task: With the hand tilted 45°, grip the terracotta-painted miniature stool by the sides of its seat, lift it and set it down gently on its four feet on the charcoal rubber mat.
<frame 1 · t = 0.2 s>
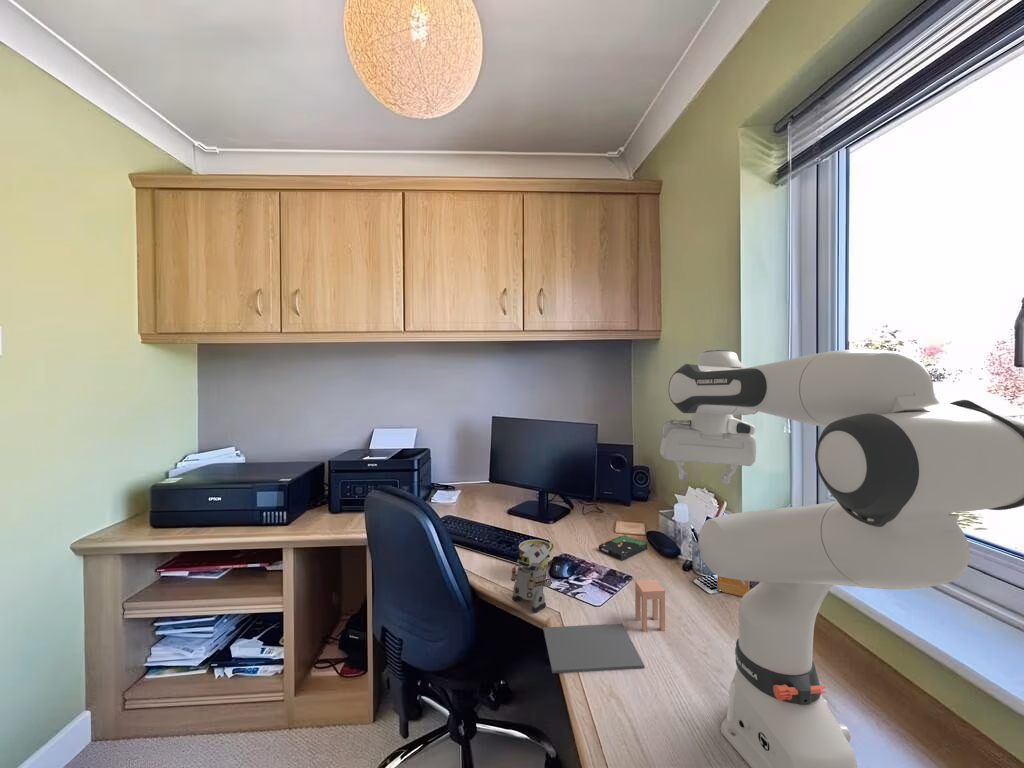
hand: (703, 480, 97), 38 cm above the table, tool pointing down, fingers open, 8 cm apart
ceramic cup: (538, 576, 132), on the table
miniature stool: (649, 624, 106), on the table
figurine: (533, 602, 118), on the table
disk drive: (623, 551, 150), on the table
charcoal mat: (590, 647, 98), on the table
small box: (733, 590, 122), on the table
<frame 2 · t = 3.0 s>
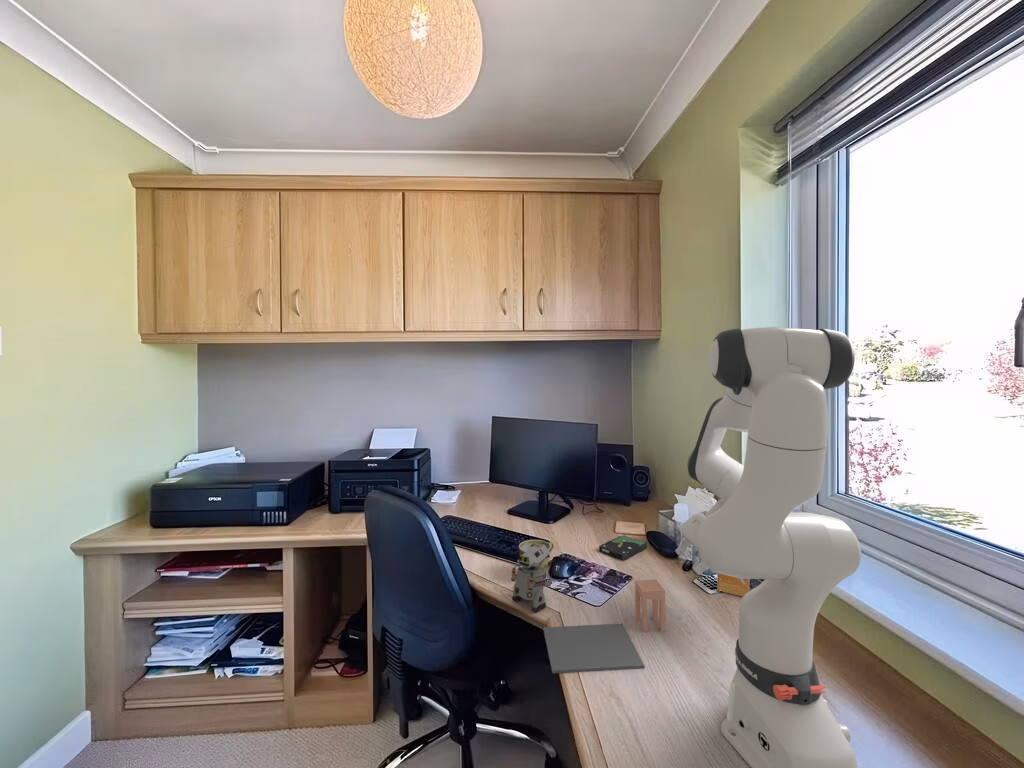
hand: (686, 562, 106), 15 cm above the table, tool tilted 45°, fingers open, 8 cm apart
nothing on the table moved.
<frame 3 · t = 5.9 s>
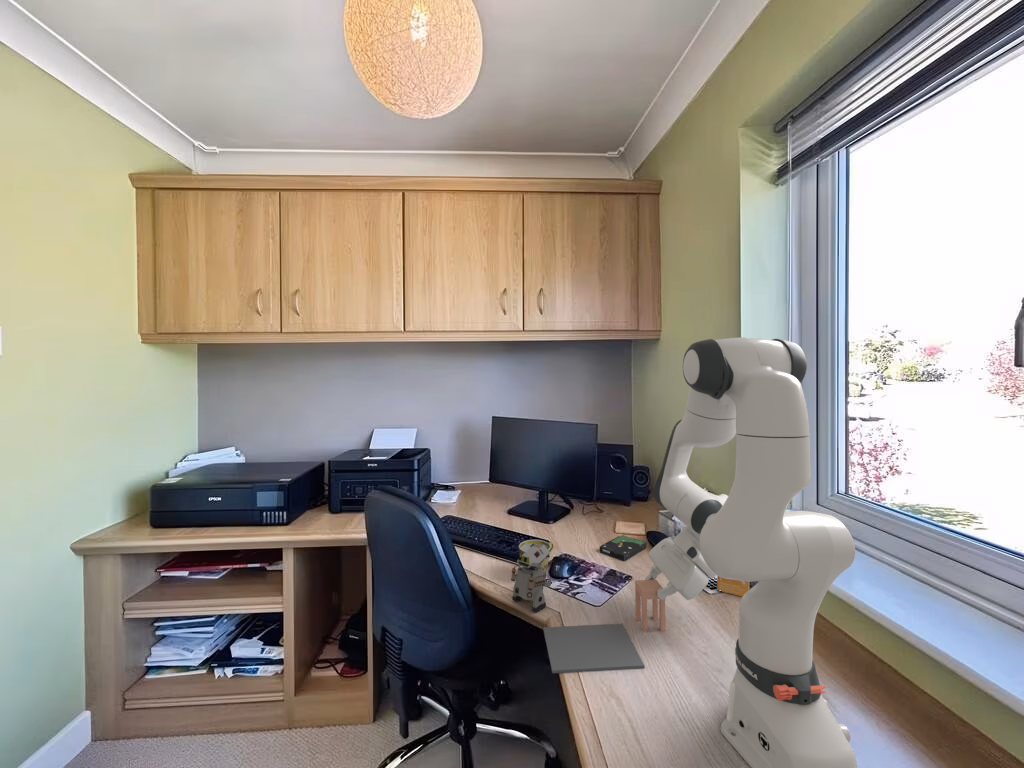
hand: (653, 589, 106), 9 cm above the table, tool tilted 45°, fingers closed on miniature stool, 5 cm apart
miniature stool: (649, 624, 106), on the table, touching gripper
everything else where it was.
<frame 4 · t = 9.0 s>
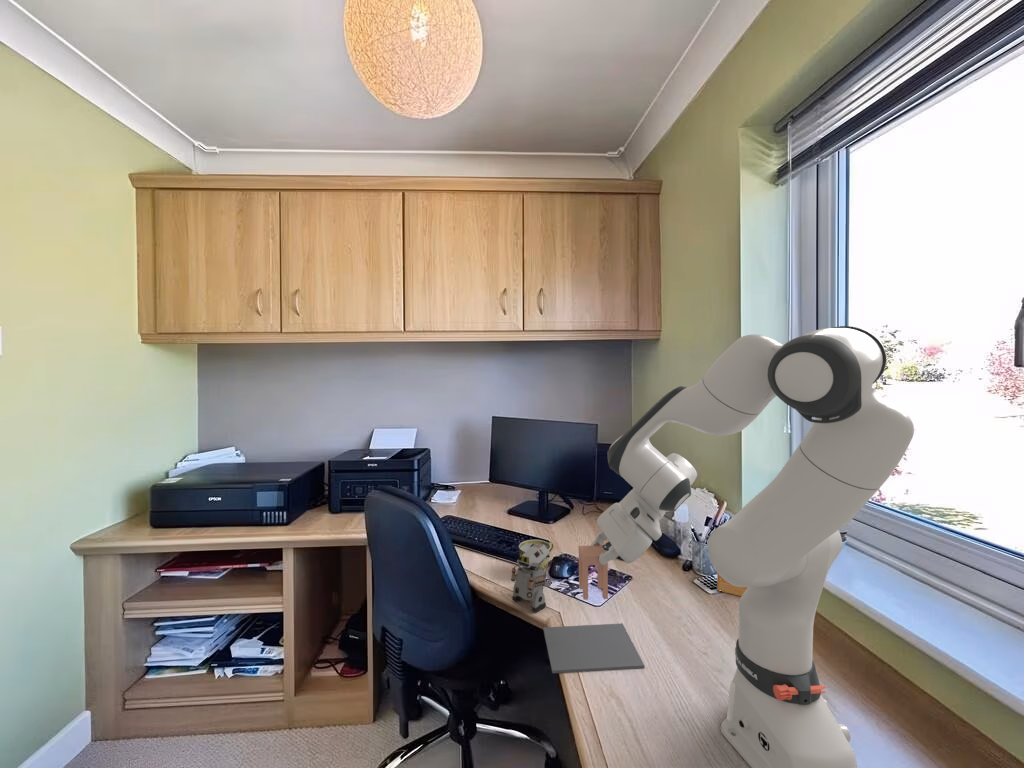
hand: (596, 555, 98), 21 cm above the table, tool tilted 45°, fingers closed on miniature stool, 5 cm apart
miniature stool: (593, 592, 98), point 13 cm above the table, touching gripper
everything else where it was.
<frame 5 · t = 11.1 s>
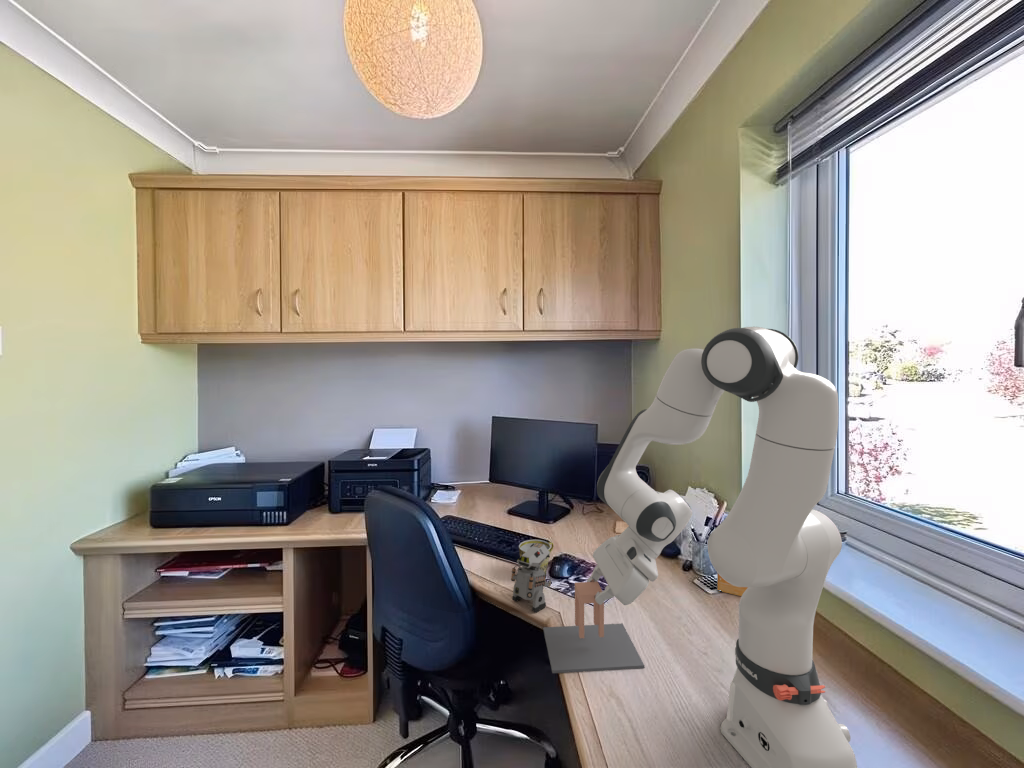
hand: (592, 592, 98), 13 cm above the table, tool tilted 45°, fingers closed on miniature stool, 5 cm apart
miniature stool: (589, 630, 98), point 4 cm above the table, touching gripper
everything else where it was.
when the fingers open (11 cm above the table, at t = 12.5 s): miniature stool drops 1 cm, resting on charcoal mat.
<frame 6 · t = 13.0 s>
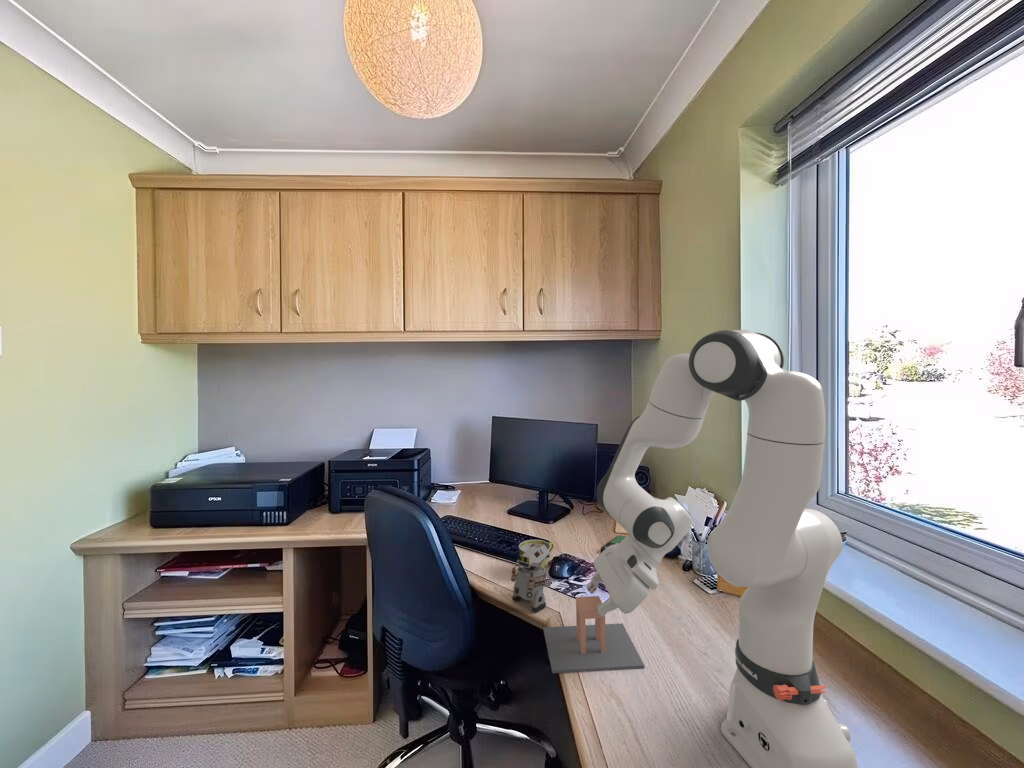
hand: (593, 601, 98), 11 cm above the table, tool tilted 45°, fingers open, 8 cm apart
miniature stool: (590, 645, 98), point 1 cm above the table, touching charcoal mat
everything else where it was.
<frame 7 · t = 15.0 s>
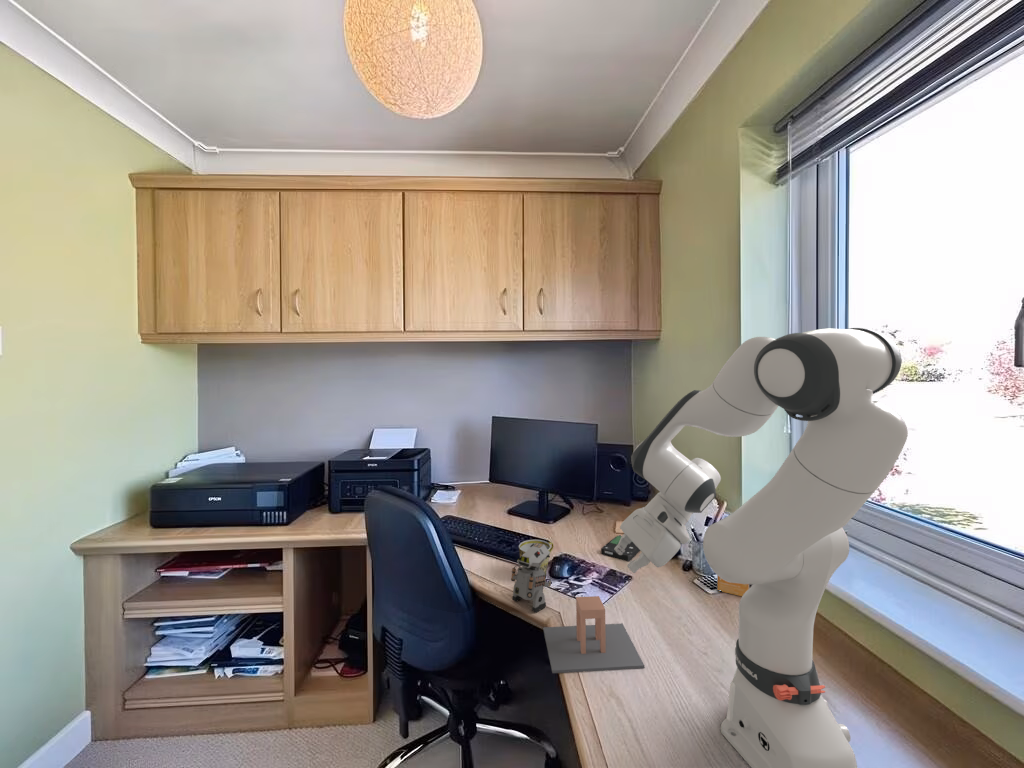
hand: (623, 560, 99), 20 cm above the table, tool tilted 45°, fingers open, 8 cm apart
nothing on the table moved.
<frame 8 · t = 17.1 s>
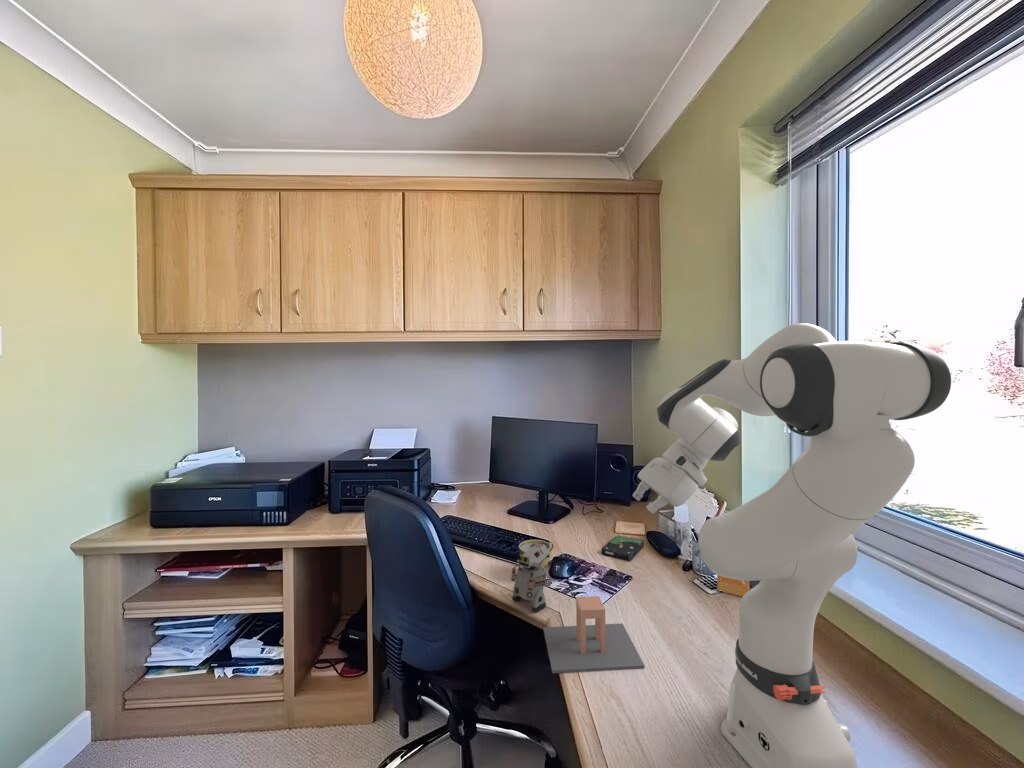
hand: (641, 504, 103), 31 cm above the table, tool tilted 45°, fingers open, 8 cm apart
at the end: miniature stool inside the target area on the charcoal mat (0.1 cm from its centre), point 0.6 cm above the charcoal mat's base; miniature stool tilted 0°; the gripper is holding nothing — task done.
